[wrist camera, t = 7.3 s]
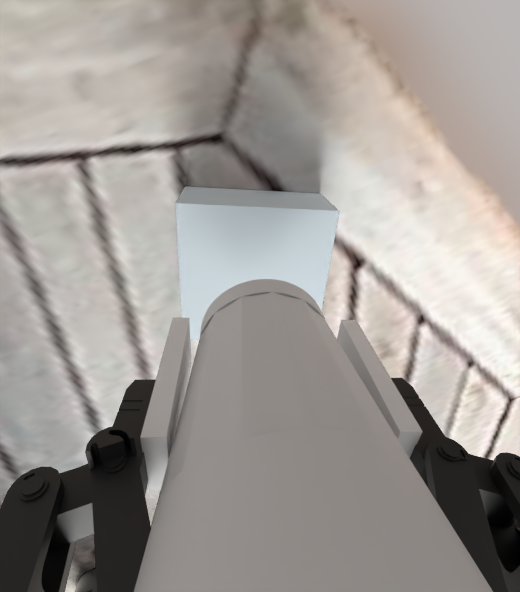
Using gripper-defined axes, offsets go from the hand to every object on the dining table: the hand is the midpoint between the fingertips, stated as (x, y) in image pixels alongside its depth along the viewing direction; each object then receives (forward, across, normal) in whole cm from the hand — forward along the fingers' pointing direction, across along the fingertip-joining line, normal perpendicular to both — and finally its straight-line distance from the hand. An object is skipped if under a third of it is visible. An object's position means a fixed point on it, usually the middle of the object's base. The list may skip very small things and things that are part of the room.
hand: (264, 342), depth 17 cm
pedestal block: (+12, 0, 0) cm, 12 cm away
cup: (+1, 0, 0) cm, 1 cm away
